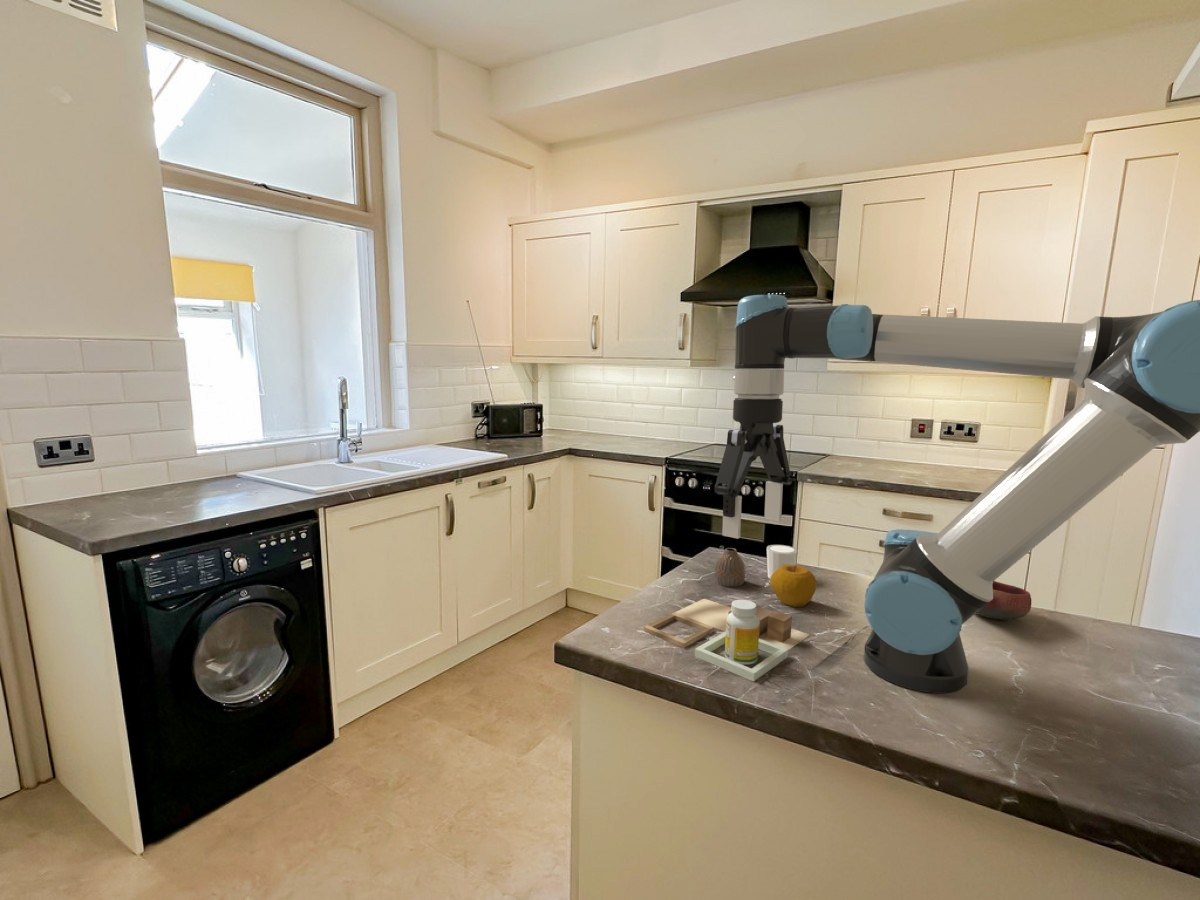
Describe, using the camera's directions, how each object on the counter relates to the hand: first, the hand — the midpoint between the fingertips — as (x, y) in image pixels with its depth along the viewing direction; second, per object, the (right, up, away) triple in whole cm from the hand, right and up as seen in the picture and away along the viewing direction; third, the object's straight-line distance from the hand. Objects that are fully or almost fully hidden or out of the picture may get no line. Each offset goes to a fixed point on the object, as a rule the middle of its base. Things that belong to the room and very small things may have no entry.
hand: (753, 528), depth 96 cm
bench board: (+1, -21, +15) cm, 26 cm away
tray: (-1, -23, +3) cm, 23 cm away
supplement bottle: (-1, -22, +3) cm, 23 cm away
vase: (+4, -18, +36) cm, 41 cm away
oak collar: (-11, -22, +12) cm, 27 cm away
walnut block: (+3, -20, +14) cm, 25 cm away
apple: (+15, -20, +26) cm, 36 cm away
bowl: (+53, -21, +21) cm, 61 cm away
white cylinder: (+18, -17, +43) cm, 50 cm away
